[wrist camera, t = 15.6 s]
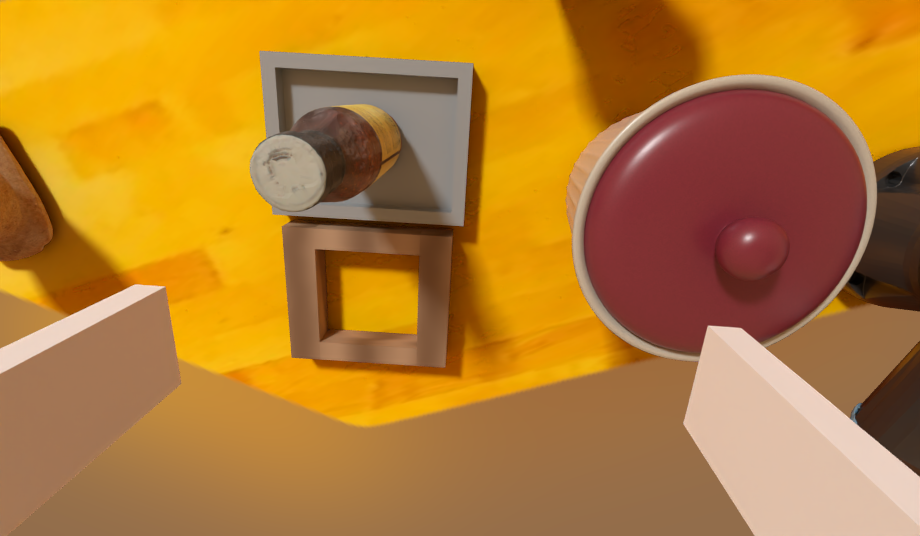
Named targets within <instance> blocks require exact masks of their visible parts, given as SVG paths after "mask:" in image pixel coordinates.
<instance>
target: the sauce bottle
mask: <svg viewBox="0 0 920 536" xmlns="http://www.w3.org/2000/svg"><path fill="white" fill-rule="evenodd" d="M401 147H402V139H401V134H400V132H399V129H398V126H397V123H396V121H395V120H394V119H393V117H391V116H390V115H389V114H387V113H386V112H385V111H383V110H382V109H380V108H377V107H375V106H372V105H368V104H355V105H342V106H331V107H323V108H319V109H315V110H313V111H310V112H308V113H307V114H305V115H303V116H302V117H301V118H300V119H298V120H297V122H296V123H295V124H294V125H293V127H292V128H291V130H290V131H285V132H281V133H278V134H275V135H273V136H270V137H268V138H267V139H265V140H264V141H262V142H261V143H260V144H259V145H258V147H257V148H256V149H255V151H254V153H253V156H252V158H251V161H250V173H251V178H252V181H253V183H254V185H255V188H256V190H257V191H258V193H259V194H260V195H261V196H262V197H263V198H264V199H265V200H266V201H267V202H268V203H269V204H270V205H272V206H274V207H276V208H278V209H280V210H282V211H287V212H300V211H304V210H307V209H310V208H312V207H314V206H315V205H317V204H319V203H322V202H342V201H345V200H348V199H351V198H353V197H354V196H356V195H358V194H359V193H361V192H362V191H364V190H366V189H367V188H368V187H370V186H371V185H372V184H373V183H374V182H375V181H376V180H377V179H379V178H380V177H381V176H382V175H383V174H384V173H386V172H387V171H388V170H389V169H390V168H391V167H392V166H393V165H394V164H395V162H396V161H397V159H398V156H399V153H400V151H401Z"/></svg>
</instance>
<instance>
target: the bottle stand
mask: <svg viewBox="0 0 920 536" xmlns="http://www.w3.org/2000/svg"><path fill="white" fill-rule="evenodd" d="M282 234H283V247H284V261H285V274H286V287H287V301H288V314H289V327H290V341H291V354H292V358H306V359H321V360H336V361H352V362H367V363H382V364H397V365H412V366H428V367H443V368H445V366H446V357H447V343H448V324H449V305H450V286H451V267H452V248H453V229H440V228H424V227H408V226H392V225H376V224H360V223H344V222H328V221H312V220H296V219H294V220H292V221H290V222H289V223H287V224H285V225H284V226H282ZM325 250H339V251H354V252H370V253H386V254H402V255H418V256H419V290H418V326H417V335H412V334H397V333H382V332H366V331H351V330H336V329H328V306H327V283H326V260H325Z"/></svg>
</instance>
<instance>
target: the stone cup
mask: <svg viewBox="0 0 920 536" xmlns="http://www.w3.org/2000/svg"><path fill="white" fill-rule="evenodd" d="M52 237H53V228H52V224H51V222H50V219H49V216H48V214H47V211H46V209H45V207H44V205H43V203H42V201H41V199H40V198H39V196H38V194H37V192H36V191H35V189H34V187H33V186H32V184H31V182H30V181H29V179H28V178H27V176H26V175H25V173H24V171H23V170H22V168H21V166H20V165H19V163H18V162H17V160H16V159H15V157H14V156H13V154H12V152H11V151H10V149H9V148H8V146H7V145H6V143H5V142H4V140H3V139H2V137H1V135H0V261H11V260H19V259H23V258H26V257H29V256H32V255H34V254H37V253H39V252H40V251H42V250H43V248H44V245H46V244H48V243H49V242H50V241H51V239H52Z"/></svg>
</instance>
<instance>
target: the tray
mask: <svg viewBox="0 0 920 536" xmlns="http://www.w3.org/2000/svg"><path fill="white" fill-rule="evenodd" d="M260 63H261V75H262V88H263V100H264V112H265V125H266V137H267V138H268V137H270V136H273V135H275V134H278V133H281V132H285V131H290V130H291V128H292V127H293V125H294V124H295V123H296V122H297V120H298V119H300V118H301V117H302V116H303V115H305V114H307V113H308V112H310V111H313V110H315V109H319V108H323V107H331V106H342V105H355V104H368V105H372V106H375V107H377V108H380V109H382V110H383V111H385V112H386V113H387V114H389V115H390V116H391V117H393V119H394V120H395V121H396V123H397V126H398V129H399V132H400V134H401V139H402V147H401V151H400V153H399V156H398V159H397V161H396V162H395V164H394V165H393V166H392V167H391V168H390V169H389V170H388V171H387V172H386V173H384V174H383V175H382V176H381V177H380V178H379V179H377V180H376V181H375V182H374V183H373V184H372V185H371V186H370V187H368V188H367V189H366V190H364V191H362V192H361V193H359V194H358V195H356V196H354V197H353V198H351V199H348V200H345V201H342V202H322V203H319V204H317V205H315V206H314V207H312V208H310V209H307V210H304V211H300V212H287V211H282V210H280V209H278V208H276V207H274V206H272V211H273V214H275V215H291V216H307V217H323V218H339V219H356V220H372V221H388V222H404V223H420V224H436V225H452V226H464V213H465V197H466V180H467V163H468V147H469V130H470V114H471V97H472V80H473V63H459V62H442V61H425V60H408V59H390V58H373V57H356V56H339V55H322V54H304V53H287V52H270V51H260Z"/></svg>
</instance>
